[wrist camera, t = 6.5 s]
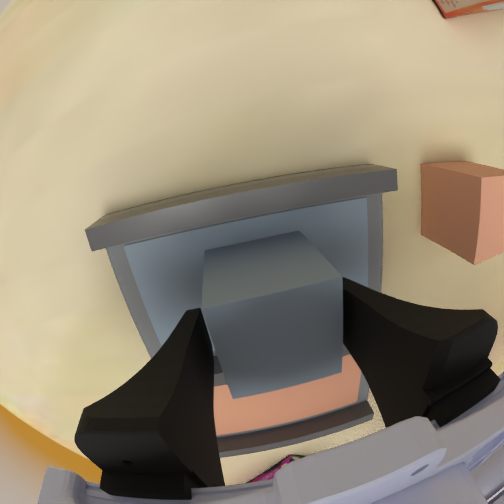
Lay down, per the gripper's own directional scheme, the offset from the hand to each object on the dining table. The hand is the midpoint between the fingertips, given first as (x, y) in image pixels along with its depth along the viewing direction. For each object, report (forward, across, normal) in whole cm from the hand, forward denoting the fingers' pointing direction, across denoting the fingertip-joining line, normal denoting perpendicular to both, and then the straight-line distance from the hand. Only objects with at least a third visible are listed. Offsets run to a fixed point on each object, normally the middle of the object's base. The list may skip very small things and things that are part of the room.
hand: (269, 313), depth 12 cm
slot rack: (+4, 0, +4) cm, 6 cm away
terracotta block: (+4, -13, -2) cm, 14 cm away
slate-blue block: (+2, 0, 0) cm, 3 cm away
